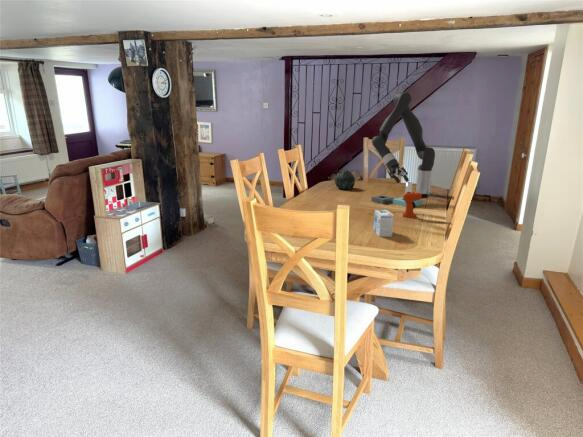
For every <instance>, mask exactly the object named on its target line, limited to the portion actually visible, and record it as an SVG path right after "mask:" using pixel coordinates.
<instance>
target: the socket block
mask: <svg viewBox="0 0 583 437" xmlns="http://www.w3.org/2000/svg"><path fill="white" fill-rule="evenodd" d="M393 199H395V198H394V197H393V196H387V195H385V194H384V195H383V194H380V195H379V194H378V195H375V196H371V200H370V201H371V202H374V203H377V204H380V205H381V204H382V205H385V204H390V203H391V202H392V203H393ZM392 203H391V204H392Z"/></svg>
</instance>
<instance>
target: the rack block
mask: <svg viewBox="0 0 583 437" xmlns="http://www.w3.org/2000/svg"><path fill="white" fill-rule="evenodd" d="M423 202H424V200H423V199H420V200H417V201H414V203H415V205H416V207H419V206H420V207H421V206H423ZM392 204H393V205H396V204H397V206H400V205H401V207H404V206H405V208H406V202H405V201H404V200H403V196H402V197H398V198H394V199H393V202H392Z"/></svg>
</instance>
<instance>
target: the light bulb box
mask: <svg viewBox="0 0 583 437" xmlns="http://www.w3.org/2000/svg"><path fill="white" fill-rule="evenodd" d="M394 218H395V215H394V214H393V213H392V212H390V211H389V210H388V209H375V210H374V217H373V232H374V233H375V234H376V235H377V237H383V238H384V237H387V238H388V237H391V238H392V237H393V228H394Z"/></svg>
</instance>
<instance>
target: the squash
mask: <svg viewBox="0 0 583 437" xmlns="http://www.w3.org/2000/svg"><path fill="white" fill-rule="evenodd" d="M355 179H356V178H355V176H354V175H353V173H351V171H349V170H343V171H341V172H339V173H338V174H337V175H336V176H335V178H334V183H335V186H336V187H337V188H338V189H342V190H344V191H345V190H347V191H349V190H351V189H353V188H354V187H355V185H356V184H355V183H356V180H355Z"/></svg>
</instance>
